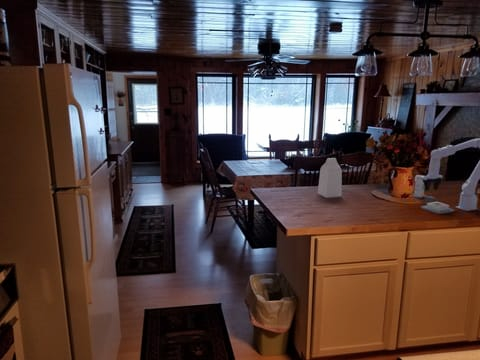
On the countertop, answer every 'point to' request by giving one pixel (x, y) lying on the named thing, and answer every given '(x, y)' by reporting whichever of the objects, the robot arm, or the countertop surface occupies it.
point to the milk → (330, 179)
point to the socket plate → (438, 208)
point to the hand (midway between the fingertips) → (431, 190)
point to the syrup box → (419, 186)
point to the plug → (429, 199)
